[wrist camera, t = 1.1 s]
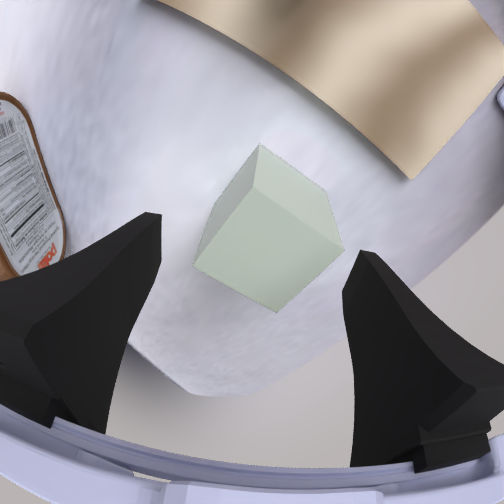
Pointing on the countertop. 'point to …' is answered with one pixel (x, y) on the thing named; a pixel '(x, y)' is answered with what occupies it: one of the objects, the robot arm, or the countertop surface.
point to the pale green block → (269, 232)
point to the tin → (25, 198)
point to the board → (374, 62)
